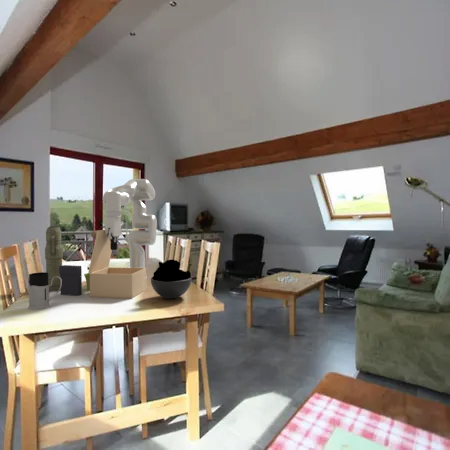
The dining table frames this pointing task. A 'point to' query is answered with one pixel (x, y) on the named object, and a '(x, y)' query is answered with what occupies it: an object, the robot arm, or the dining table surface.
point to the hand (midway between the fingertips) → (114, 249)
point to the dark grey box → (70, 280)
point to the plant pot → (87, 280)
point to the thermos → (53, 256)
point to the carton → (117, 282)
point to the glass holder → (39, 291)
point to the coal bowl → (170, 279)
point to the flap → (100, 251)
